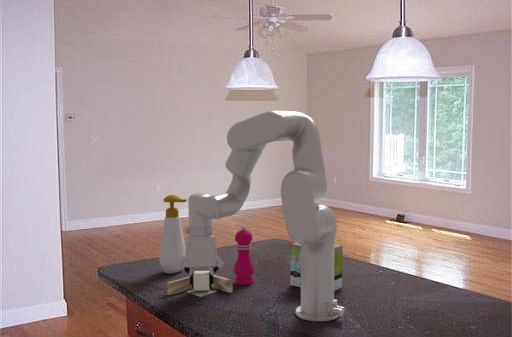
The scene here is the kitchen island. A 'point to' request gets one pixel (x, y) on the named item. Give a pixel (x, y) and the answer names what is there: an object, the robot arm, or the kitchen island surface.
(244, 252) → the pepper mill
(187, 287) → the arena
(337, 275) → the tea box
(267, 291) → the kitchen island surface
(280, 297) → the kitchen island surface
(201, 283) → the cube
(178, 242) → the soap bottle
